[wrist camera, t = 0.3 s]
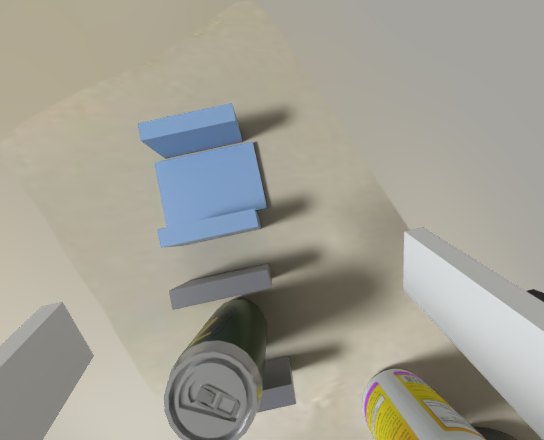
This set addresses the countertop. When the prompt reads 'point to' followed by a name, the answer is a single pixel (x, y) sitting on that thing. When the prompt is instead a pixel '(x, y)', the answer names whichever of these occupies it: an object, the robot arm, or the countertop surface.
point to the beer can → (219, 376)
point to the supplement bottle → (411, 410)
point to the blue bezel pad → (210, 184)
